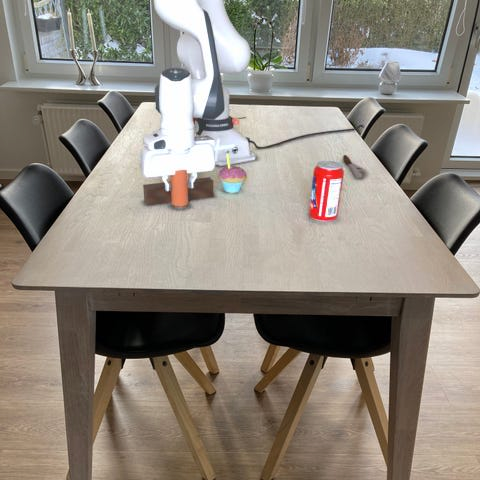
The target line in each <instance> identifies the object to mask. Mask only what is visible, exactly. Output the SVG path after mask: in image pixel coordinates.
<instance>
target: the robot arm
mask: <svg viewBox="0 0 480 480" xmlns="http://www.w3.org/2000/svg"><path fill="white" fill-rule="evenodd" d="M153 6H154V10H155V12H156V14H157V15H158V17H159V18H160V20H161V21H163V22H164V23H165V24H166V25H168V26H170V27H171V28H173V29H175V30H177V31H179V32H182V34H181V35H180V36H179V38H178V40H177V43H176V55H177V58H178V60H179V62H180V64H182V65H183V67H184V68H185V69H184V68H181V67H170V68H167V69H164V70H163V71H161V72H160V75H159V76H160V77H159V82H158V83H157V85H156V86H155V87H154V99H155V110H156V111H157V113H158V114H160V118H161V119H160V123H159V129H157V130H156V131H153V132H151V133H148V134H146V135H144V136H143V137H142V143H143V145H144V146H143V147H142V149H141V152H140V160H139V161H140V165H139V167H140V172H141V174H142V175H143V176H144V177H145V178H147V179H149V178H159V177H160V179H161V180H162V183H163V182H164V183H165V190H166V191H172V184H171V183H168V182H169V181H167V180H168V179H169V176H170V175H175V171H177V170H187V173H188V174H189V175H190V177H189V178H188V180H189V181H188V189H190V188H193V182H194V181H195V179H197V178H198V173H204V172H212V171H214V169H215V168H216V166H219V167H226V166H228V163H227V155H226V154H227V153H228V154H229V161H230V165H235V164H239V163H240V164H241V163H245V162H252V161H255V160H256V159H257V157H256V154H255V152H253V151H252V150H251V149H250V148H251V147H250V143H251V144H253V146H254V147H255V148H256V149H258V150H264V149H269V148H272V147H275V146H279V145H282V144H285V143H288V142H291V141H295V140H298V139H302V138H305V137H311V136H315V135H316V136H317V135H324V134H331V133H340V132H341V133H342V132H351V131H357V130H358V129H360V128H365V127H364V125H363V124H359V125H358V126H357V127H353V128H345V129H344V128H343V129H336V130H327V131H318V132H312V133H308V134H303V135H298V136H295V137H291V138H288V139H284V140H283V141H279V142H276V143H272V144H269V145H267V146H259V145H257V143H256V142H255V141H254V140H251V138H250V137H247V136H245V135H244V134H243V133H242V132H240V131H239V130H238V129H236V128H235V126H239V124H240V119H236V118H237V117H232V116H231V115H230V111H229V110H230V92H229V90H228V88H227V86H226V85H224V84H223V82H222V78H221V73H222V74H227V75H232V74H233V75H234V74H241V73H243V72H245V71H246V69H247V68H248V67H249V65H250V62H251V59H252V51H251V47H250V44H249V43H248V41H247V40H246V38H244V37H243V36H242V35H241V34H240V33H239V32H238V31H237V30H236V28H235V27H234V25H233V23H232V22H231V20H230V18H229V16H228V13H227V10H226V7H225V1H224V0H153ZM193 118H195V126H194V122H193Z"/></svg>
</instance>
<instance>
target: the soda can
mask: <svg viewBox="0 0 480 480" xmlns="http://www.w3.org/2000/svg"><path fill="white" fill-rule="evenodd" d="M344 176H345V170H344V169H343V164H342V163H340V162H339V161H335V160H320V161H317V163H316V166H315V167H314V168H313V172H312V181H311V191H310V200H309V208H308V216H309V217H310V218H311V219H313V220H314V221H316V222H318V223H319V222H320V223H330V222H333V221H335V220H336V219H337V218H338V215H339V210H340V201H341V197H342V196H341V195H342V188H343V182H344Z"/></svg>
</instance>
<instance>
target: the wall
mask: <svg viewBox="0 0 480 480" xmlns="http://www.w3.org/2000/svg"><path fill="white" fill-rule="evenodd" d="M188 181H189V179H188ZM167 182H168V183H170V181H167ZM142 186H143V201H144V203H145V204H146V206H154V205H161V204H169V203H170V204H171V191H166V190H165V183H164V182H163V181H162V182H155V183H146V184H143V185H142ZM207 198H208V199H209V198H214V179H213V178H211V177H209V176H208V177H199V178H198V177H197V178H196V179H195V181H194V182H193V188H190V189H188V201H193V200H199V199H207Z"/></svg>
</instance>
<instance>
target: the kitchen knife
mask: <svg viewBox="0 0 480 480" xmlns="http://www.w3.org/2000/svg"><path fill="white" fill-rule="evenodd" d="M342 158H343V162H344V163H345V165H346V166H348V167H349V170H350V171H351V173H352V175H353V176H354V178H355V179H362V178H364V177H365V172H364V170H363V168H362V167H360V166H359V165H357V164H355V163H352V161H351V158H350V157H349V156H348V155H347V154H344V155H342Z"/></svg>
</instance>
